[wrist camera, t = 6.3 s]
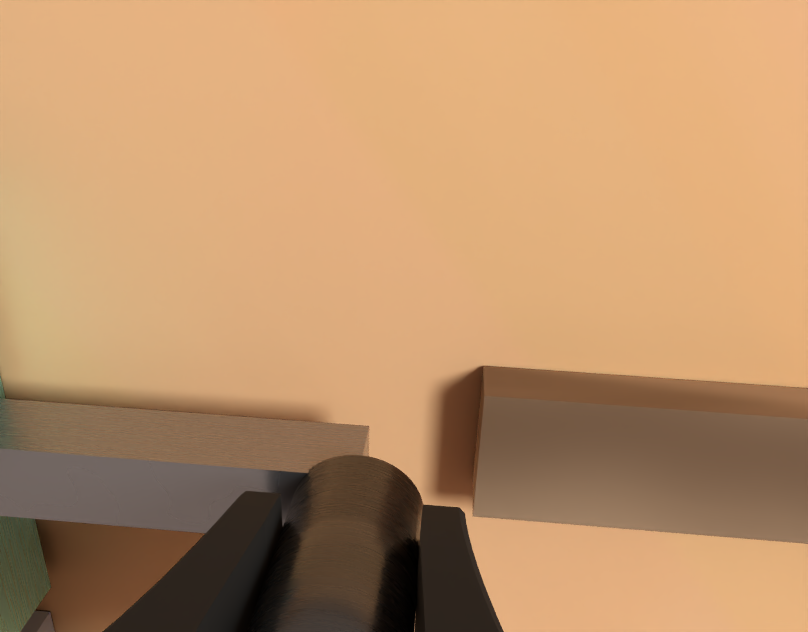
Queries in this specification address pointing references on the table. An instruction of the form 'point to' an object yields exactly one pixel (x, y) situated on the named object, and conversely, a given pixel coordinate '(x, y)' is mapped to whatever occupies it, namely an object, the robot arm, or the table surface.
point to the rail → (643, 454)
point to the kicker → (216, 504)
